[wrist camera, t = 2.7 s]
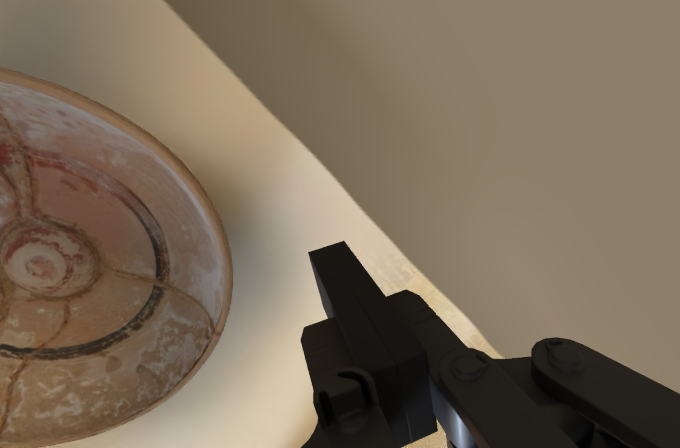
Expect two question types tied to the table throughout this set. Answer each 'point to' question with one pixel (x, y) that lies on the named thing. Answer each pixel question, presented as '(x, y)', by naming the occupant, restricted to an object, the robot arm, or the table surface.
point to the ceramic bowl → (97, 267)
